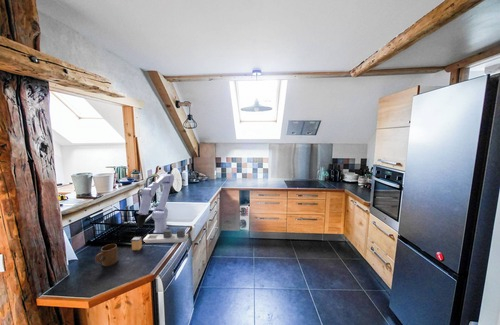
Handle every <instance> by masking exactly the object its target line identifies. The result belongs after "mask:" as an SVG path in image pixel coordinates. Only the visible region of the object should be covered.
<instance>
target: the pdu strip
mask: <svg viewBox="0 0 500 325" xmlns="http://www.w3.org/2000/svg"><path fill="white" fill-rule="evenodd" d="M188 238H189V233H186V229H185V228H178V229H177V230H176V233H173V230H172V228H169V229H168V228H167V229H165V230H164V231H163V233H153V234H152V233H151V234H149V233H147V235H146V236H145V237H144V238H142V241H144V242H145V243H144V244H159V243H160V244H161V243H164V244H165V243H166V244H167V243H168V244H169V243H187V241H188Z"/></svg>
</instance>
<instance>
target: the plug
mask: <svg viewBox="0 0 500 325" xmlns="http://www.w3.org/2000/svg"><path fill="white" fill-rule="evenodd" d="M142 241H143V238H142V236H134V237H133V238H132V239H131V250H132V251H140V250H141V249H142V248H143V242H142Z"/></svg>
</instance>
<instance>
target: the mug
mask: <svg viewBox="0 0 500 325" xmlns="http://www.w3.org/2000/svg"><path fill="white" fill-rule="evenodd" d="M118 254H119V253H118V246H117V244H116V243H109V244H106V245H104V246H102V247H101V249H100V252H99V253H97V254H96V255H95V258H94V261H95V262H96V263H98V264H99V263H101V264H102V266H103V267H112V266H114V265H115V264H117V263H118V261H119V255H118ZM100 257H101V258H100Z"/></svg>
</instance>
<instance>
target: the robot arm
mask: <svg viewBox="0 0 500 325" xmlns="http://www.w3.org/2000/svg"><path fill="white" fill-rule="evenodd" d="M174 182H175V176H174V174H172V173H160V175H159V176H158V178H157V180H156V181H152V182H151V184H149V185H148V186H147V187H144V188H143V189H142V190H141V202H140V206H139V210H138V211H136V214H138V215H137V216H136V222H137V223H136V228H143V227H144V225H145V222H146V220H148V217H149V210H150V208H151V207H150V206H151V203H152V200H153V197H155V194H156V192H157V191H158V190H159V188H160V186H163V189H162V192H161V195H160V199H159V202H158V205H157V206H156V207H154V208H153V211H152V213H151V218H152V220H153V221H154V230H153V231H152V233H153V234H163V231H164V230H165V229H168V228H169V226H167V225H168V224H167V223H168V222H167V221H168V220H167V219H168V212H169V210H168V208H167V207H166V206H167V202H168V199H169V195H170V190H171V187H172V186H173V185H174Z"/></svg>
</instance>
